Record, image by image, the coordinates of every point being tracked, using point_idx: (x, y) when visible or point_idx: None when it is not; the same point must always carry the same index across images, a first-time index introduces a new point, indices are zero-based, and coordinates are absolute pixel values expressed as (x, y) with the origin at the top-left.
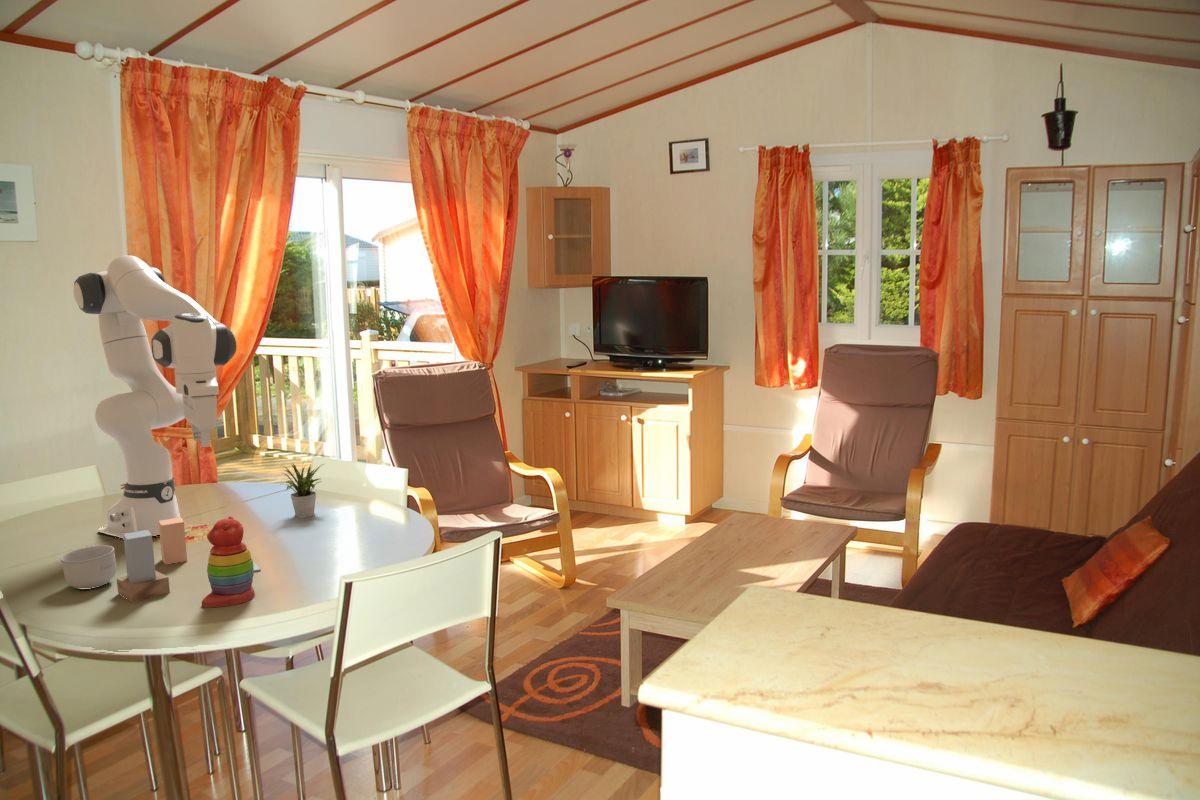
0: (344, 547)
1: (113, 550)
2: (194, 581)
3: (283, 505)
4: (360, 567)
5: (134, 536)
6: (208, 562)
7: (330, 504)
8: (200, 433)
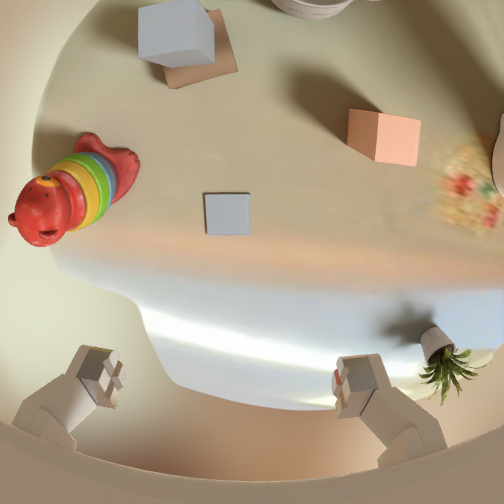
0: (251, 344)
1: (298, 2)
2: (214, 131)
3: (479, 320)
4: (155, 332)
5: (152, 21)
6: (66, 161)
7: None
8: (36, 402)
